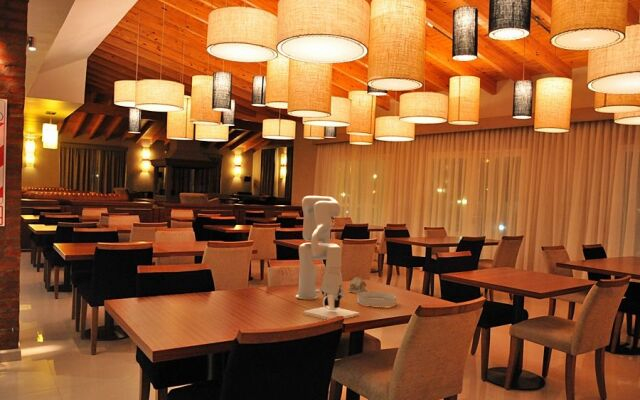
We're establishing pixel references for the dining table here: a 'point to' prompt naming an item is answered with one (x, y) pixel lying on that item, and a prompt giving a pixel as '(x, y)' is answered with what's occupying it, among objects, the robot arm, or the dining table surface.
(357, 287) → the ceramic model
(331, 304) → the cup
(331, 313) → the board
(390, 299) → the dish
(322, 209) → the robot arm
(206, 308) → the dining table surface
